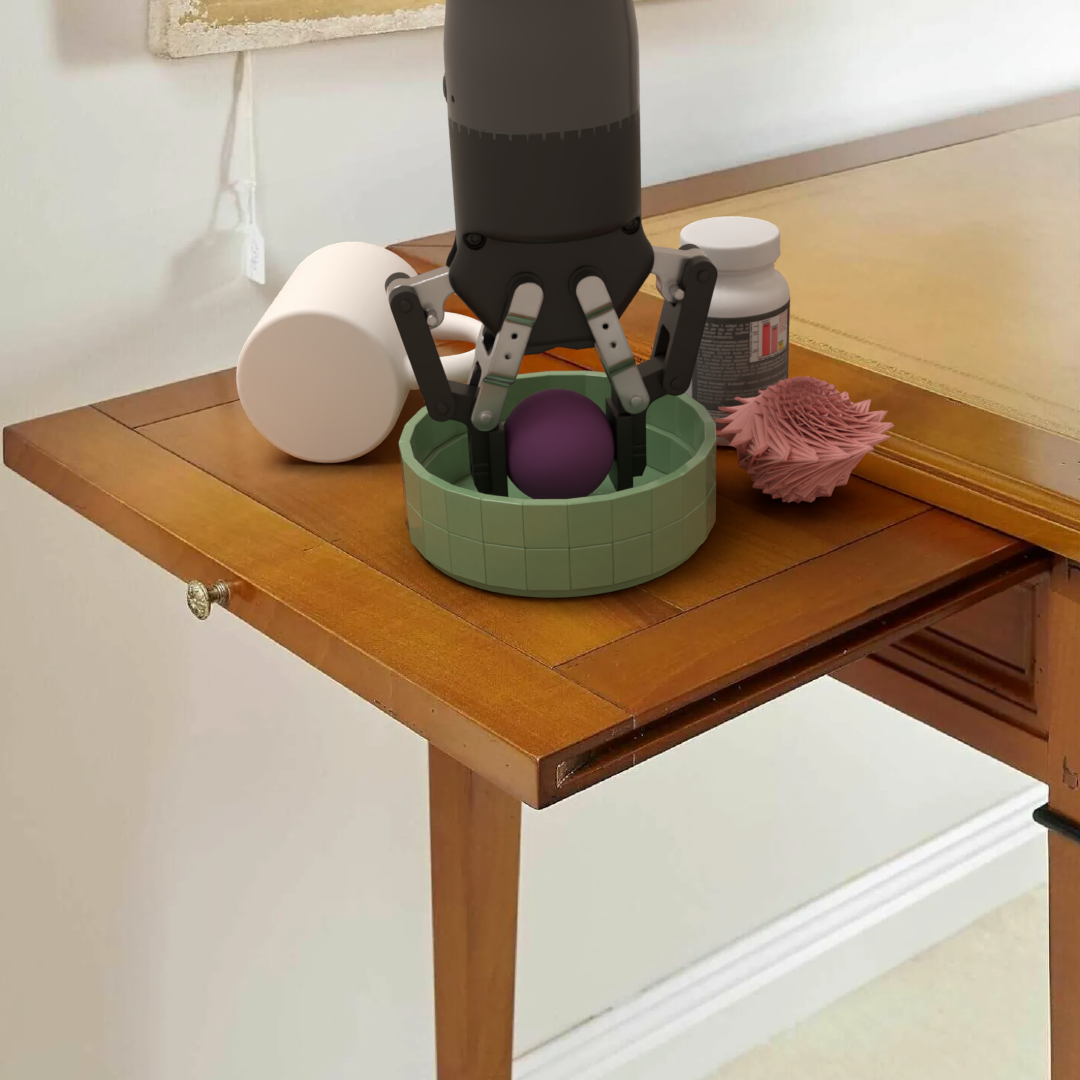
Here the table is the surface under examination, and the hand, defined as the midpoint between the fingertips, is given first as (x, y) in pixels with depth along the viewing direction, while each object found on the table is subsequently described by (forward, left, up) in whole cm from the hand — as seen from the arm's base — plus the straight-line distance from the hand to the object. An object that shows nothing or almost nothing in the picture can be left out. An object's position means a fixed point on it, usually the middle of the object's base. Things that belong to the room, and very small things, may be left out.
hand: (559, 488), depth 72 cm
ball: (0, 0, 0) cm, 0 cm away
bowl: (0, 0, -2) cm, 2 cm away
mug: (+6, -13, -2) cm, 15 cm away
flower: (-11, 0, -2) cm, 11 cm away
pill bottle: (-10, -8, -2) cm, 13 cm away
